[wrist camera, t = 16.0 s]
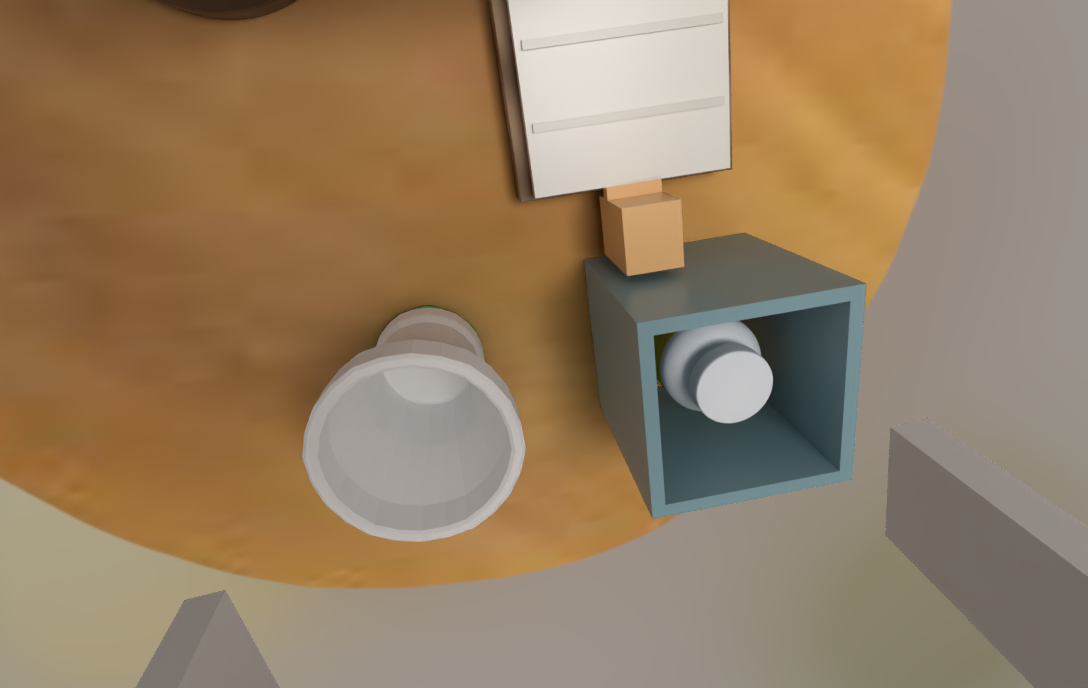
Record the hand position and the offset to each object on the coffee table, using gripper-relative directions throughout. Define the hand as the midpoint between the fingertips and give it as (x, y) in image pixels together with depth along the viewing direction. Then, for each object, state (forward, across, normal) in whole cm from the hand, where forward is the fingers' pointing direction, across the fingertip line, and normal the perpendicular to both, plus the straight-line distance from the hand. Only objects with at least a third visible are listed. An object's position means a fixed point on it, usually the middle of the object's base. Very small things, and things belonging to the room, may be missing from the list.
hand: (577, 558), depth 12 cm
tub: (+31, +11, -10) cm, 35 cm away
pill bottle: (+32, +11, -10) cm, 35 cm away
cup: (+32, -7, -7) cm, 33 cm away
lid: (+30, +9, +6) cm, 32 cm away
